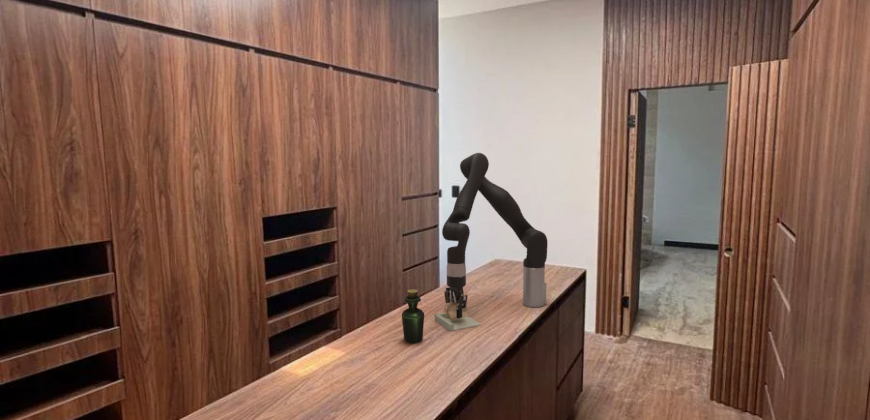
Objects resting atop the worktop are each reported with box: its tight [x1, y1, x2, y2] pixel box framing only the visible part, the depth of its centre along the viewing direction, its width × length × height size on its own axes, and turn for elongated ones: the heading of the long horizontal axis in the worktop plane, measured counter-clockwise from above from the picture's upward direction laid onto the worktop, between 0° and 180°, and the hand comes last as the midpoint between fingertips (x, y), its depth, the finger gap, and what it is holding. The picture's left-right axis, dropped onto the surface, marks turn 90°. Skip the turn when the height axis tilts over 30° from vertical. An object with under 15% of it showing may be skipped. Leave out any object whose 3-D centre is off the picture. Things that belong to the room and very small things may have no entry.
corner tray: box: [434, 311, 482, 332], centre depth 180 cm, size 14×13×2 cm
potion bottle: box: [401, 289, 425, 344], centre depth 162 cm, size 8×8×18 cm
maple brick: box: [445, 302, 468, 320], centre depth 180 cm, size 4×7×6 cm, turn 116°
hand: (456, 316), depth 180 cm, fingers closed on maple brick, 4 cm apart
